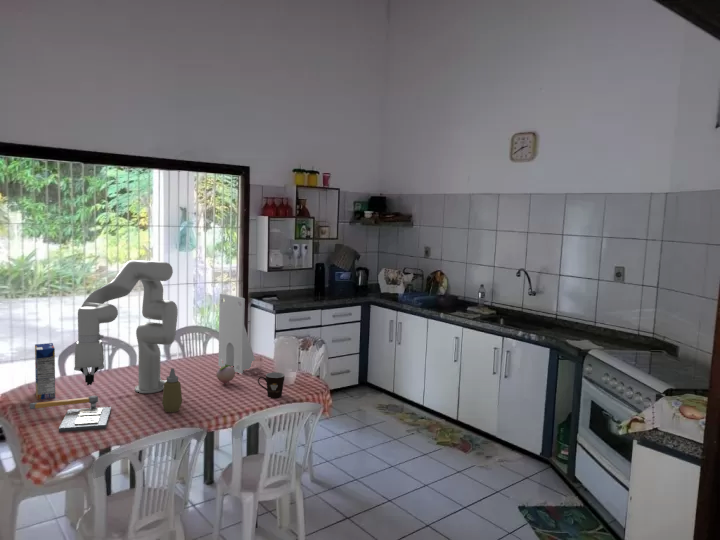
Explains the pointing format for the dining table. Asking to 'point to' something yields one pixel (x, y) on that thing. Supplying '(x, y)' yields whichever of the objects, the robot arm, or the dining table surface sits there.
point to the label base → (85, 419)
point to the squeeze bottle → (172, 393)
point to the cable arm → (64, 402)
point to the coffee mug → (274, 384)
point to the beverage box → (45, 370)
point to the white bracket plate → (233, 334)
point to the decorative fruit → (225, 374)
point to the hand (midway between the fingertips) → (89, 383)
